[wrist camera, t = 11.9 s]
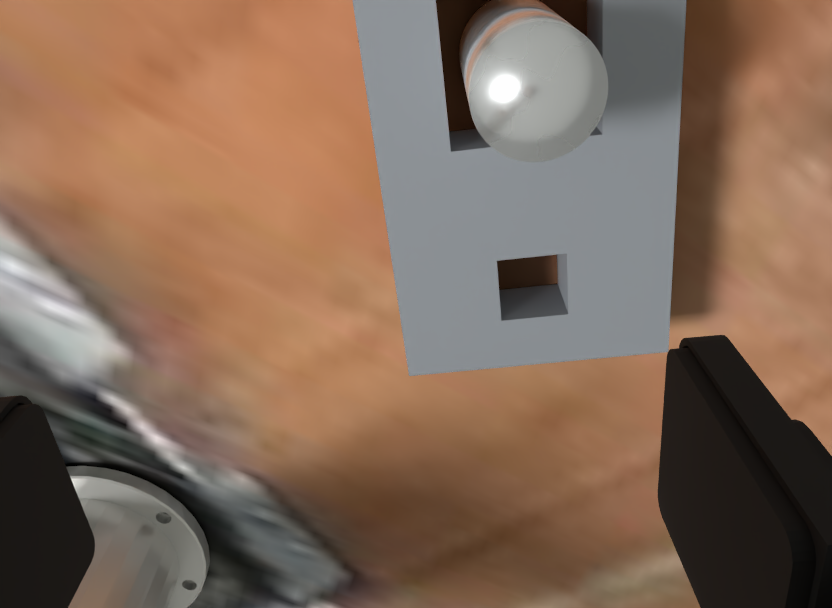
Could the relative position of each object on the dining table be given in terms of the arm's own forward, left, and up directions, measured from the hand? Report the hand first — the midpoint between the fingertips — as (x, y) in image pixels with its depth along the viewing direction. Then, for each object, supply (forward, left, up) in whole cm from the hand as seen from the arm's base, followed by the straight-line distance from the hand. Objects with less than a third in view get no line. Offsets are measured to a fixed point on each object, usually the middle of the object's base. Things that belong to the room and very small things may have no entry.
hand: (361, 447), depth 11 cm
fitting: (+1, -5, -23) cm, 23 cm away
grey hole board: (-3, -5, -23) cm, 24 cm away
